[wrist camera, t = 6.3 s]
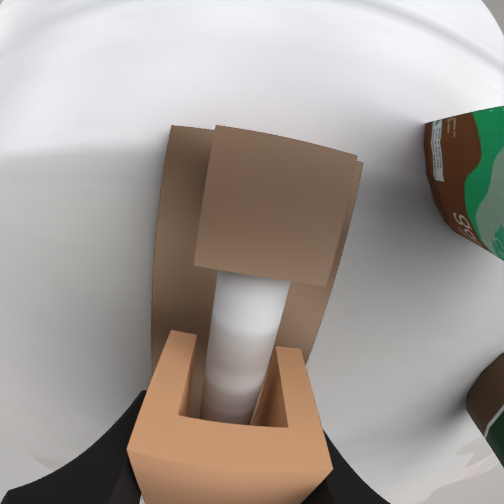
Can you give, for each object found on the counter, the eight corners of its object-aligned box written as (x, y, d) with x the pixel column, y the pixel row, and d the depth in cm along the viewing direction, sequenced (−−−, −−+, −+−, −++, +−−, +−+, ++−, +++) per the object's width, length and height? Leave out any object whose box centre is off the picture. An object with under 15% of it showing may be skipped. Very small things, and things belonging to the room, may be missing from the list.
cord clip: (272, 424, 12) (281, 521, 7) (169, 411, 11) (146, 507, 6) (300, 348, 10) (333, 468, 5) (171, 329, 10) (126, 448, 5)
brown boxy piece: (265, 447, 17) (270, 518, 11) (159, 432, 17) (142, 502, 11) (354, 162, 12) (445, 167, 5) (177, 128, 11) (110, 96, 5)
